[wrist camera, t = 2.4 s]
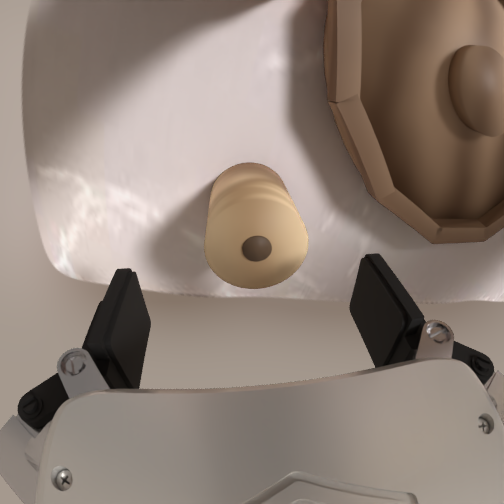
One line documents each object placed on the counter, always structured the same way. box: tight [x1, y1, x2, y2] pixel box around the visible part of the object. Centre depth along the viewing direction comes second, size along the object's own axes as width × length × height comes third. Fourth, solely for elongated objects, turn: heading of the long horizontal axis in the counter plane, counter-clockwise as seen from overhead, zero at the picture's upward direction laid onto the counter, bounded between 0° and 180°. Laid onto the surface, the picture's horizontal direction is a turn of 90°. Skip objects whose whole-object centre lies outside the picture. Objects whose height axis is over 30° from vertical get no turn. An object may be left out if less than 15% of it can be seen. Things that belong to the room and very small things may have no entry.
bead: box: [204, 163, 308, 289], centre depth 16 cm, size 5×5×6 cm
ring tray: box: [323, 0, 504, 244], centre depth 13 cm, size 25×25×2 cm
